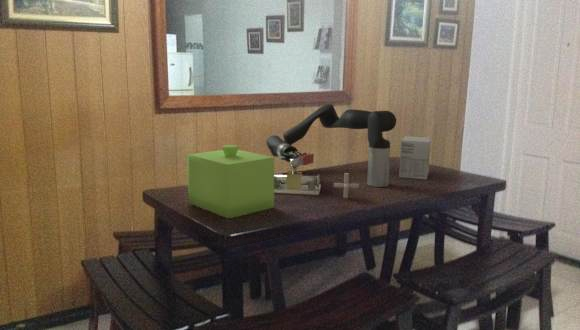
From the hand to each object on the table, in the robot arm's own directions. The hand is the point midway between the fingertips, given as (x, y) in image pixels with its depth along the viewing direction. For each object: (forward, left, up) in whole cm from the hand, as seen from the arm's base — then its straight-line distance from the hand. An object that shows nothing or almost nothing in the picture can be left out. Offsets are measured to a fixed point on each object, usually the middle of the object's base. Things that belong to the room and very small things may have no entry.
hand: (301, 160), depth 221 cm
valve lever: (-1, +3, -2) cm, 3 cm away
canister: (+23, +35, -12) cm, 44 cm away
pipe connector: (-20, +16, -12) cm, 28 cm away
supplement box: (-53, -32, -12) cm, 63 cm away
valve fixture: (+2, +8, -12) cm, 14 cm away
